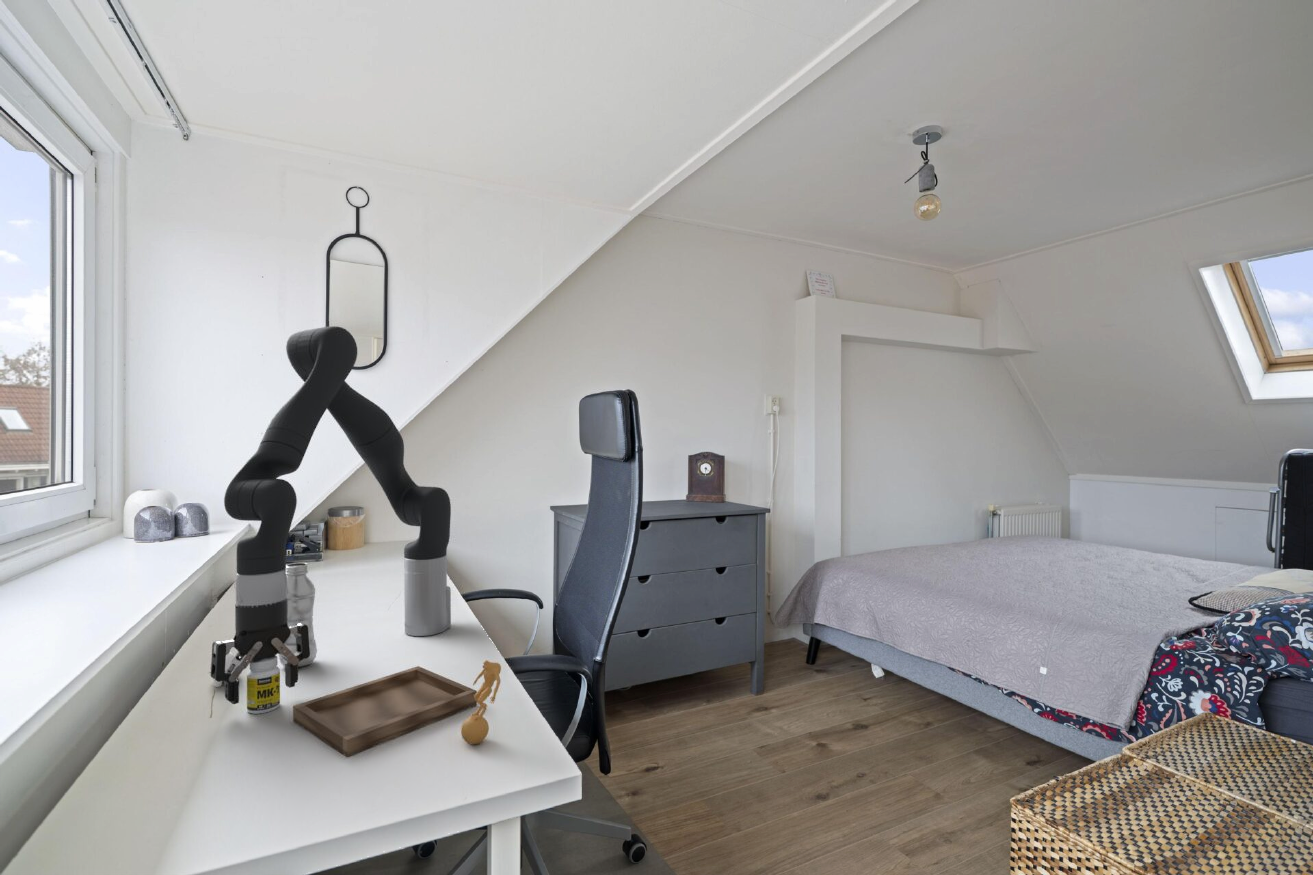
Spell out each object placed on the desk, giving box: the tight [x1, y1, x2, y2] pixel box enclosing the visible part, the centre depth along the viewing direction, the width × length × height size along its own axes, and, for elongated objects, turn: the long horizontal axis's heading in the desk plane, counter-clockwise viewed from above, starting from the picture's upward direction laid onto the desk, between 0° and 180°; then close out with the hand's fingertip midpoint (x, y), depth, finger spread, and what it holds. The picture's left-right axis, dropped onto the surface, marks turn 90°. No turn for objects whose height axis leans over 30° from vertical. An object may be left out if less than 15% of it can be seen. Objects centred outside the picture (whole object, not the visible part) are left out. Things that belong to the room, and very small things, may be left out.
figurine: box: [460, 659, 502, 745], centre depth 98 cm, size 8×6×12 cm
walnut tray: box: [292, 665, 478, 758], centre depth 107 cm, size 22×18×2 cm
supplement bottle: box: [246, 654, 281, 715], centre depth 109 cm, size 5×5×8 cm
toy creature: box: [208, 651, 235, 687], centre depth 120 cm, size 5×8×6 cm, turn 25°
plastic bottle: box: [278, 562, 318, 668], centre depth 128 cm, size 6×7×20 cm
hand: (262, 694), depth 109 cm, fingers open, 8 cm apart
